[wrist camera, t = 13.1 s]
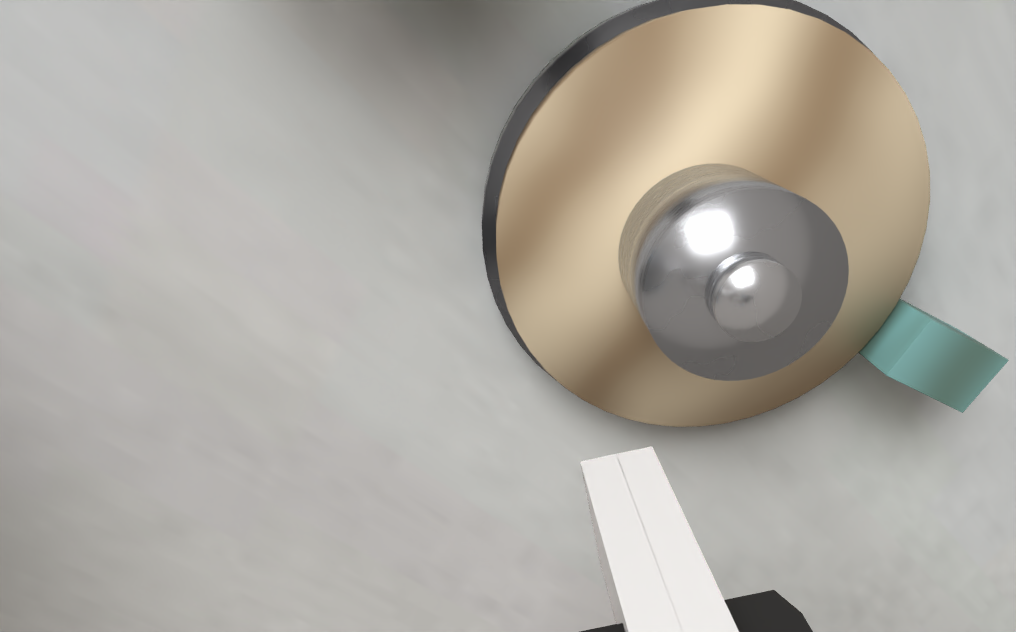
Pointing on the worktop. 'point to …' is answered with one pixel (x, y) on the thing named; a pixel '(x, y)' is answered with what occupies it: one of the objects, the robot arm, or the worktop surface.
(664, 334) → the cover
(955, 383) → the platter
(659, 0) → the turntable base
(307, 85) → the worktop surface
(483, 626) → the worktop surface
